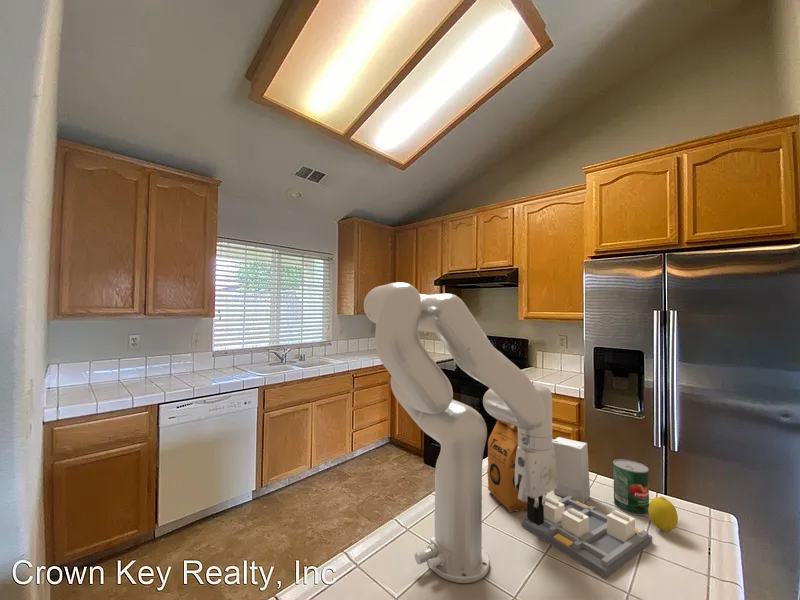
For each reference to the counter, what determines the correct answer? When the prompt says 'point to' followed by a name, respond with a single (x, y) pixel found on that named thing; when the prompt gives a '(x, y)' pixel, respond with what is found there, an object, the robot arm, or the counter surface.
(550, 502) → the tab far
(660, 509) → the lemon
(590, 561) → the switch board
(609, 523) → the tab near
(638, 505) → the canned tomato
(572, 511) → the tab middle
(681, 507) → the counter surface
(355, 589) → the counter surface
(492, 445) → the coffee package
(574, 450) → the skincare box
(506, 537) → the counter surface
